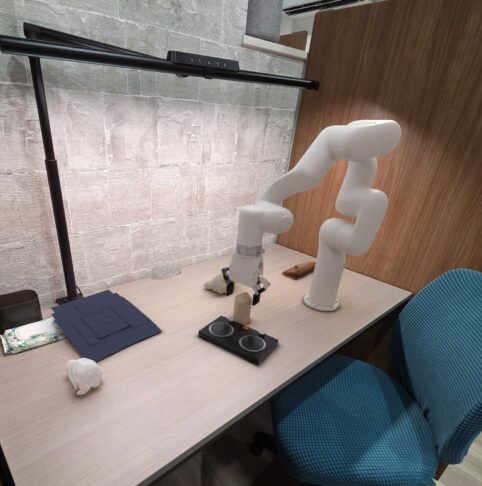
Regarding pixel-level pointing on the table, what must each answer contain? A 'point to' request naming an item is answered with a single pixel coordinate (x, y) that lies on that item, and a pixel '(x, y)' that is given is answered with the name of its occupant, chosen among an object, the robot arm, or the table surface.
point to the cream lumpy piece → (217, 284)
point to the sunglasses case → (300, 270)
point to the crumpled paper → (84, 374)
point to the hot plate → (239, 339)
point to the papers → (102, 324)
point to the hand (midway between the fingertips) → (242, 299)
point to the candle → (242, 308)
